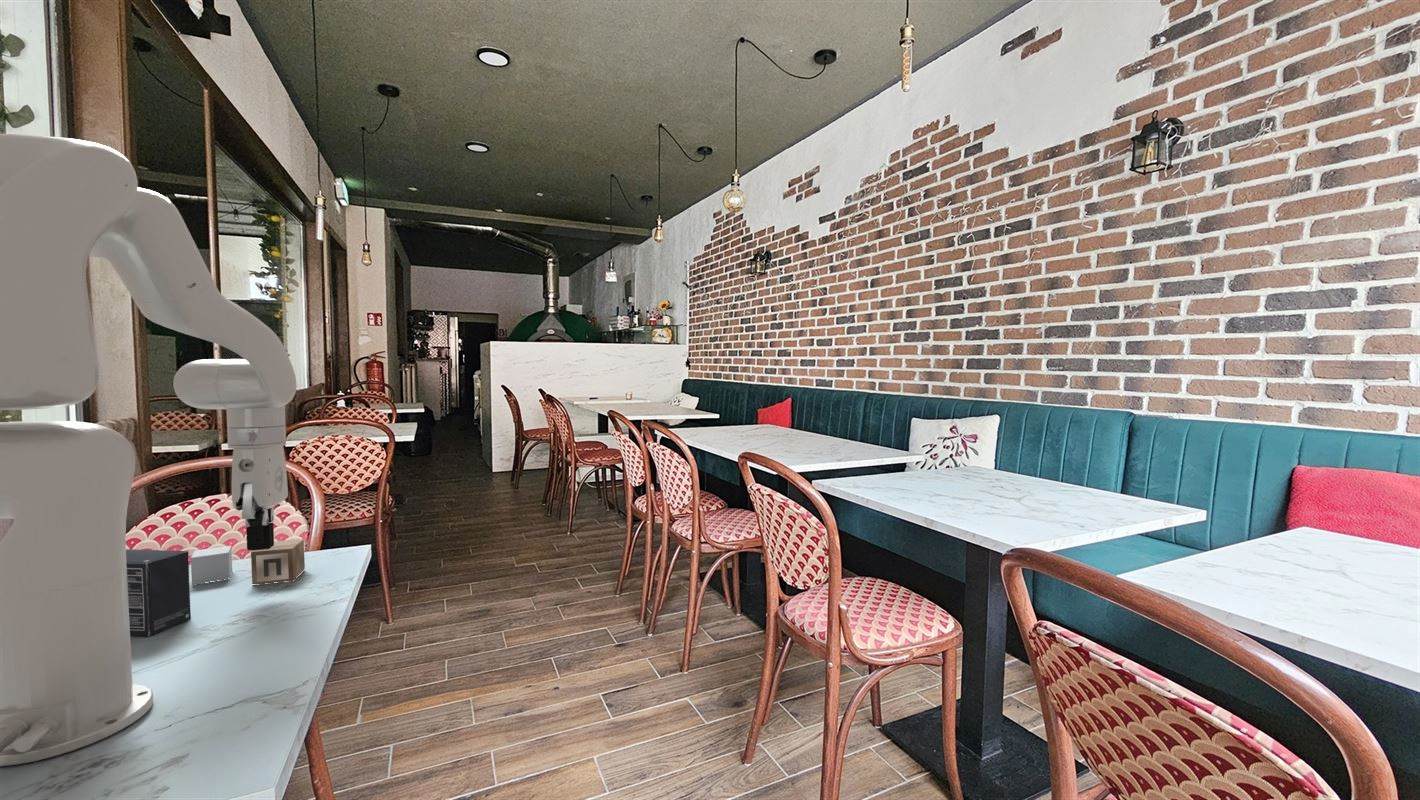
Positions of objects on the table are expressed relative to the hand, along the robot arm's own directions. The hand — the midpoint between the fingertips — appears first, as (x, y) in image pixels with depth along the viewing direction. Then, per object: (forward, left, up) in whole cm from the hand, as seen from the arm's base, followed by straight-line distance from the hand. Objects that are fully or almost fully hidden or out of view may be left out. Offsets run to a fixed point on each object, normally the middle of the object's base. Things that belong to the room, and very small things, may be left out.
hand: (260, 548), depth 95 cm
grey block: (+11, +11, -8) cm, 18 cm away
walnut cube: (+5, 0, -5) cm, 7 cm away
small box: (-9, +12, -8) cm, 17 cm away
